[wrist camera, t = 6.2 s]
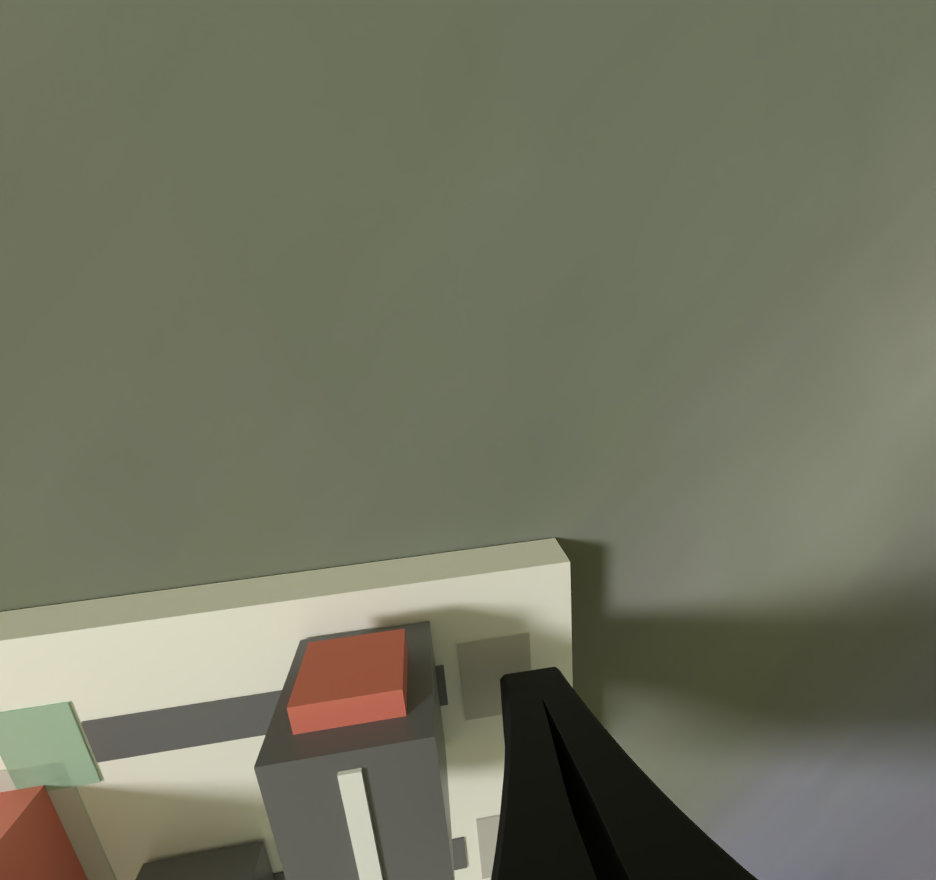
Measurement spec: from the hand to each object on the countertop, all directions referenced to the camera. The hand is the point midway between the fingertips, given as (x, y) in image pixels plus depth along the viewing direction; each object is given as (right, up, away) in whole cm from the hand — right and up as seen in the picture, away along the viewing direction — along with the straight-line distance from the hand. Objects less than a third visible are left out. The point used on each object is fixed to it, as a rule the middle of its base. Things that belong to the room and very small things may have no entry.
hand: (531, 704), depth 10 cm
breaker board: (-8, -3, +2) cm, 8 cm away
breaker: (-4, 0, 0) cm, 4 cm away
